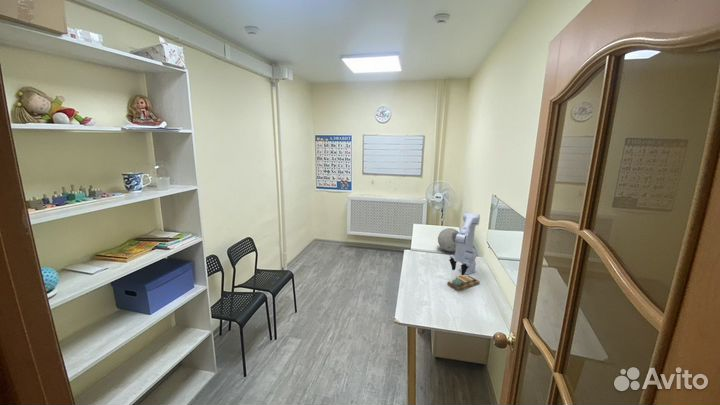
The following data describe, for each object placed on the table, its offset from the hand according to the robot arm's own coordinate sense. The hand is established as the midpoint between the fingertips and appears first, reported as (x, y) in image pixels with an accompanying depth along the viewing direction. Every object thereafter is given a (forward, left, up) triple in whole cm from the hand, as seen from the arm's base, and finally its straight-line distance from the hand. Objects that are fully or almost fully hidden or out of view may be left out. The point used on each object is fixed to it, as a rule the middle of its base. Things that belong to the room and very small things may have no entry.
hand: (458, 272), depth 175 cm
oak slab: (-9, -2, -10) cm, 14 cm away
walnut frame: (-6, +1, -10) cm, 11 cm away
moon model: (-41, -46, -10) cm, 63 cm away
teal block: (0, 0, -10) cm, 10 cm away
